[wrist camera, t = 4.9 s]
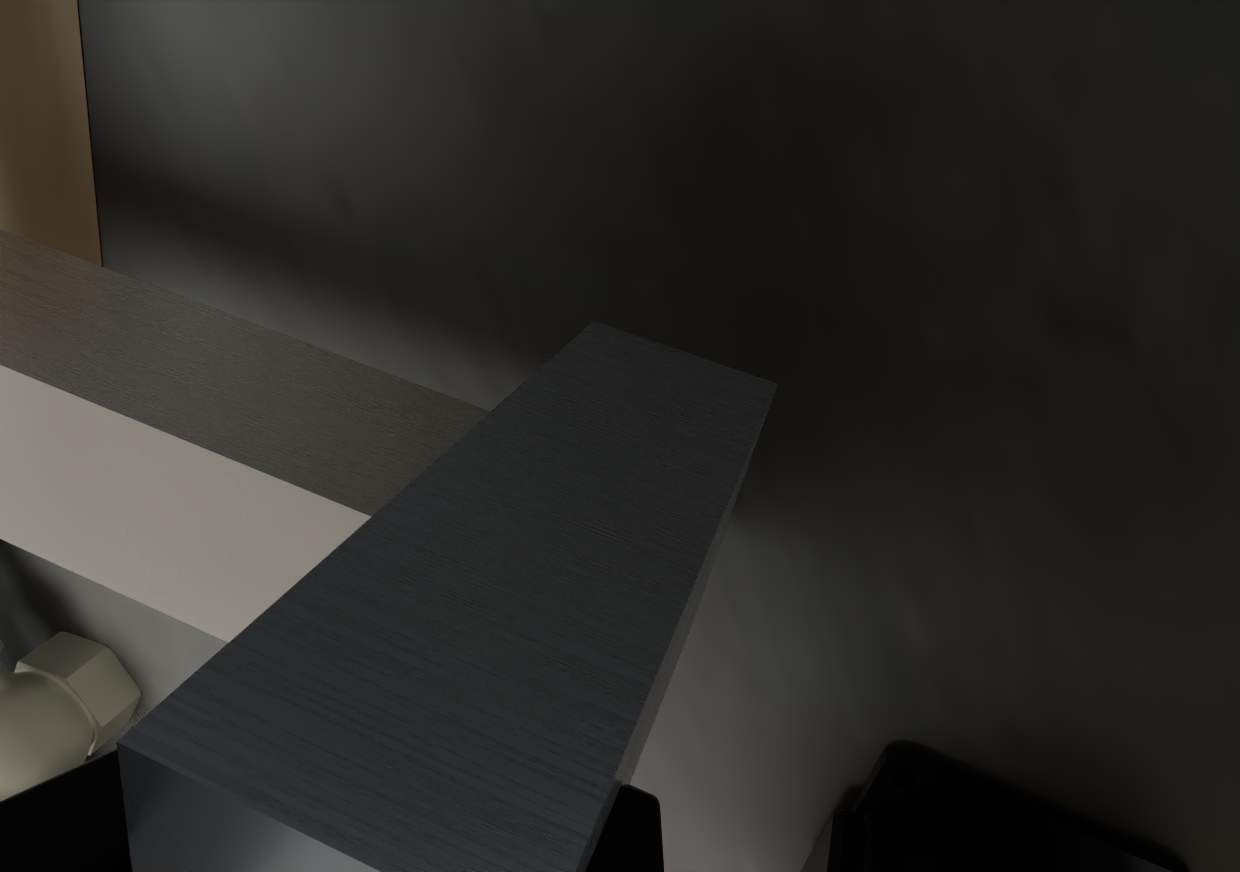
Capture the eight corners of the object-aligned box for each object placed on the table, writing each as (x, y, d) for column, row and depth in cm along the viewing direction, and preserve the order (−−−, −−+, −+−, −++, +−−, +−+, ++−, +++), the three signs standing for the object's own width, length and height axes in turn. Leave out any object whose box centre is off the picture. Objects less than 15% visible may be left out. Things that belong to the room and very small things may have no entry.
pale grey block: (777, 384, 12) (542, 951, 5) (691, 627, 15) (443, 1258, 7) (-101, 82, 15) (-1116, 135, 8) (-52, 326, 18) (-786, 550, 10)
